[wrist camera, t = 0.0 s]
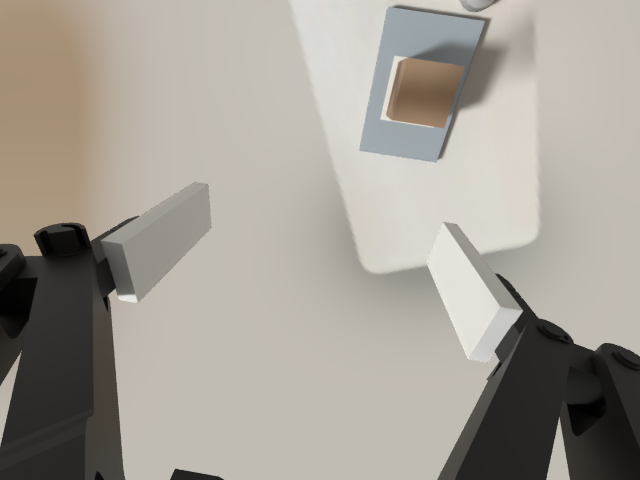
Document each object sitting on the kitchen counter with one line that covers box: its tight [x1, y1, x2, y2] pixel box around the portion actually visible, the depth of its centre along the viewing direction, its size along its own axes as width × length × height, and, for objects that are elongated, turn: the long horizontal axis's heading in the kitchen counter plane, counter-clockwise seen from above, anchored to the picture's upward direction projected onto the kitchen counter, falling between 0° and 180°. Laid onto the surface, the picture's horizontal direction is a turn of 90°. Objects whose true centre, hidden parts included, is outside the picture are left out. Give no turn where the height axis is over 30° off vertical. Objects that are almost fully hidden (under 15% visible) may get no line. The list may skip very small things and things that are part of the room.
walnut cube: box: [386, 58, 465, 128], centre depth 32 cm, size 6×6×6 cm
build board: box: [359, 7, 485, 162], centre depth 35 cm, size 16×11×1 cm
